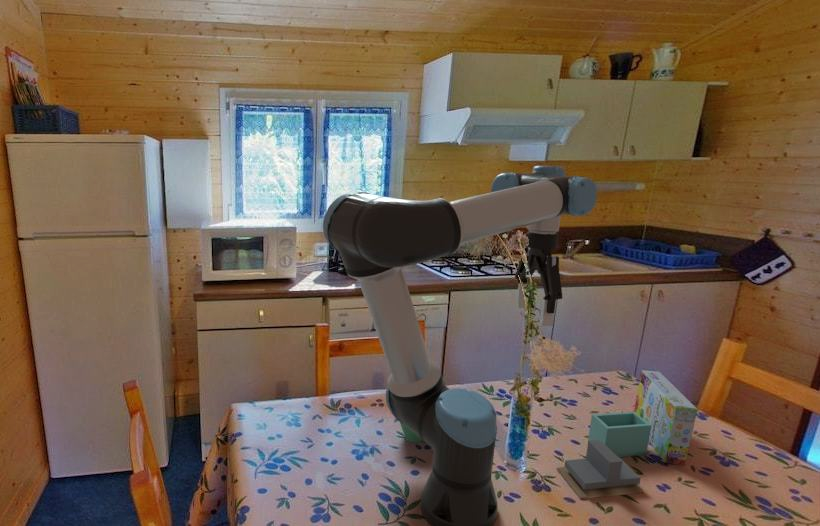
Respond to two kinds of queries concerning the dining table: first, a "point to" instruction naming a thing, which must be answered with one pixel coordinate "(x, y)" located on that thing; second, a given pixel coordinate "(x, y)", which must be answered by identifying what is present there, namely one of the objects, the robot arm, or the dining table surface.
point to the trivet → (598, 491)
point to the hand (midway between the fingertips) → (533, 316)
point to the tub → (621, 432)
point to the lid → (601, 468)
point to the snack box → (665, 416)
